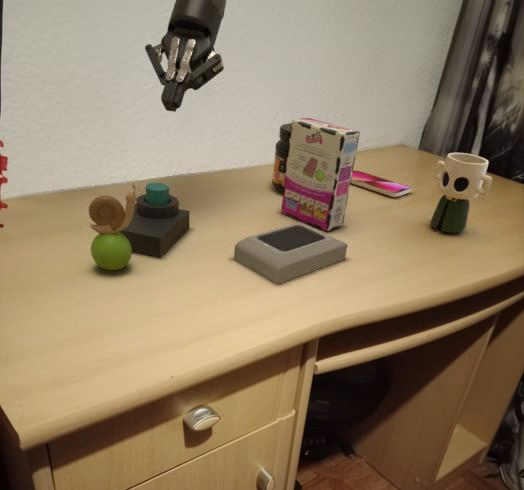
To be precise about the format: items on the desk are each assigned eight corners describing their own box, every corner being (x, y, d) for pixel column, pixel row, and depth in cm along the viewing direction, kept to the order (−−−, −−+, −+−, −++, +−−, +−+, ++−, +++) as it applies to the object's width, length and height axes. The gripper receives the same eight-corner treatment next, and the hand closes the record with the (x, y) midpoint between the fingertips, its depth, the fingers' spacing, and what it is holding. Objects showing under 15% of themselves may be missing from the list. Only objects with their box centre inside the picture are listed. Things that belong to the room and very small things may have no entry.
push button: (151, 196, 88) (151, 181, 86) (172, 200, 87) (172, 185, 86) (142, 203, 85) (141, 187, 83) (163, 207, 84) (163, 191, 83)
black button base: (141, 218, 92) (139, 188, 89) (191, 227, 91) (191, 198, 88) (104, 246, 82) (102, 214, 79) (160, 257, 80) (160, 226, 77)
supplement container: (260, 186, 111) (266, 124, 105) (297, 179, 117) (304, 120, 111) (295, 202, 105) (303, 138, 98) (332, 194, 111) (342, 133, 104)
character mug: (411, 222, 102) (429, 152, 95) (432, 215, 106) (451, 147, 99) (462, 243, 96) (486, 169, 88) (482, 235, 100) (506, 164, 93)
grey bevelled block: (348, 237, 84) (280, 260, 75) (344, 259, 86) (277, 284, 77) (304, 216, 89) (235, 236, 80) (301, 237, 91) (233, 259, 82)
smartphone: (356, 169, 124) (413, 187, 116) (355, 174, 125) (412, 192, 117) (337, 175, 119) (395, 194, 111) (336, 179, 120) (394, 198, 112)
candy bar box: (344, 226, 97) (362, 131, 88) (327, 233, 94) (344, 134, 85) (296, 207, 103) (308, 115, 94) (279, 212, 100) (290, 118, 91)
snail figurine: (141, 275, 75) (138, 190, 68) (93, 278, 73) (85, 191, 66) (137, 258, 79) (134, 176, 72) (91, 260, 78) (83, 176, 71)
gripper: (152, -14, 83) (119, 85, 80) (235, -5, 81) (204, 98, 78) (166, 24, 90) (137, 116, 87) (242, 34, 88) (215, 129, 85)
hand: (169, 107), depth 82 cm, fingers closed
